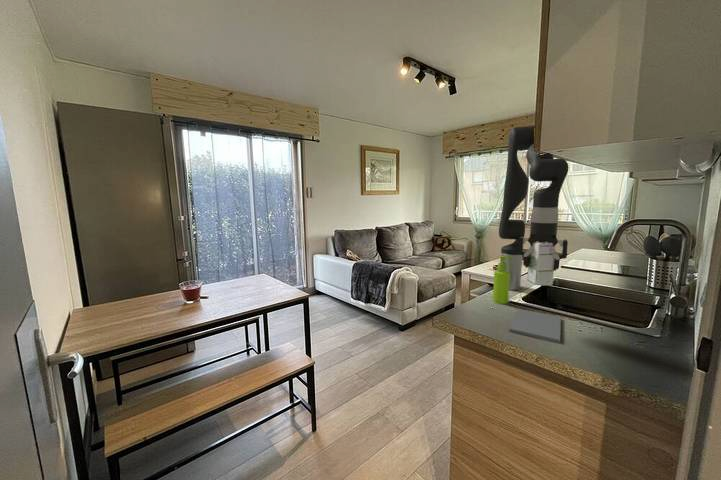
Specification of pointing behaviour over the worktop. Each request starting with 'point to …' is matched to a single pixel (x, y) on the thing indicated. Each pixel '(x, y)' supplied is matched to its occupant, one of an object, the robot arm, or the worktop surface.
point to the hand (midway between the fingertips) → (540, 268)
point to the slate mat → (536, 325)
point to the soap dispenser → (501, 282)
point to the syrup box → (541, 264)
